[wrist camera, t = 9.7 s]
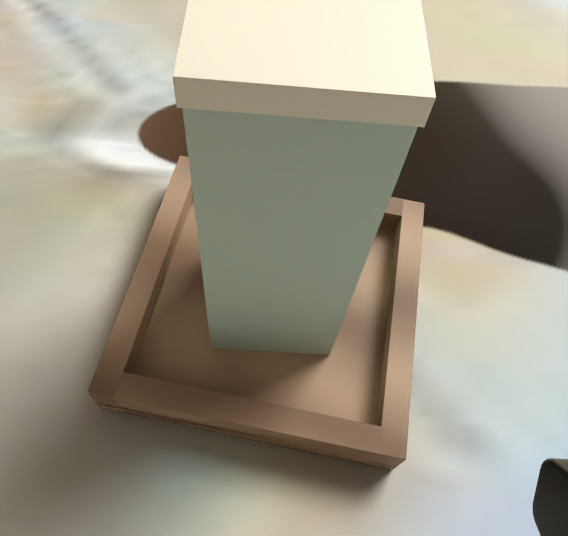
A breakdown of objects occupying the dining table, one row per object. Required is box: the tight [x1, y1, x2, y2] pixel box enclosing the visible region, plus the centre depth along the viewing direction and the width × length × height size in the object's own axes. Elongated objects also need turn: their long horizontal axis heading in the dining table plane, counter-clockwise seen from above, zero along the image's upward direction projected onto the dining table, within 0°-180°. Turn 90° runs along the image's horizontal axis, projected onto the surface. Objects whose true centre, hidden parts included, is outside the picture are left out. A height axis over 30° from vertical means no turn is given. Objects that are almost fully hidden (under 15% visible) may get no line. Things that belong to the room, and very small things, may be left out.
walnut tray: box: [88, 156, 424, 470], centre depth 24 cm, size 12×12×2 cm
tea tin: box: [173, 0, 436, 355], centre depth 18 cm, size 5×5×14 cm
